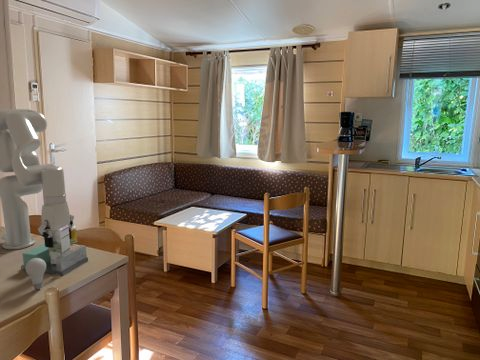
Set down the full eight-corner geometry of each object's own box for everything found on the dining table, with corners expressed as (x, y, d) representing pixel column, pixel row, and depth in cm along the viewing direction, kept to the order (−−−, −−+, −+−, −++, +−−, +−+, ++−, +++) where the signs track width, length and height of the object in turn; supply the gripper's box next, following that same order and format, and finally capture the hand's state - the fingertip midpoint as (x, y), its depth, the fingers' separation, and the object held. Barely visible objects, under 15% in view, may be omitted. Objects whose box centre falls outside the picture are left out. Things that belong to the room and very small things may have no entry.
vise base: (21, 269, 139) (19, 253, 138) (49, 255, 152) (47, 241, 151) (63, 275, 134) (61, 258, 133) (88, 260, 147) (86, 245, 146)
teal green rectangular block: (23, 265, 138) (22, 253, 137) (51, 252, 152) (50, 240, 151) (36, 267, 137) (35, 255, 136) (63, 253, 150) (62, 242, 149)
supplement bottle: (78, 242, 168) (77, 222, 166) (66, 245, 164) (64, 224, 163) (75, 239, 172) (74, 219, 170) (63, 241, 169) (61, 221, 167)
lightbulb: (52, 286, 126) (49, 256, 124) (37, 294, 120) (34, 263, 118) (39, 283, 128) (35, 254, 126) (23, 291, 122) (20, 260, 120)
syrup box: (72, 259, 145) (69, 224, 142) (63, 265, 139) (60, 229, 136) (58, 258, 146) (55, 223, 143) (49, 264, 140) (45, 228, 137)
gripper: (63, 194, 147) (66, 234, 150) (28, 204, 130) (32, 249, 134) (78, 195, 145) (82, 236, 148) (45, 205, 129) (49, 251, 132)
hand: (58, 242), depth 141 cm, fingers open, 9 cm apart
